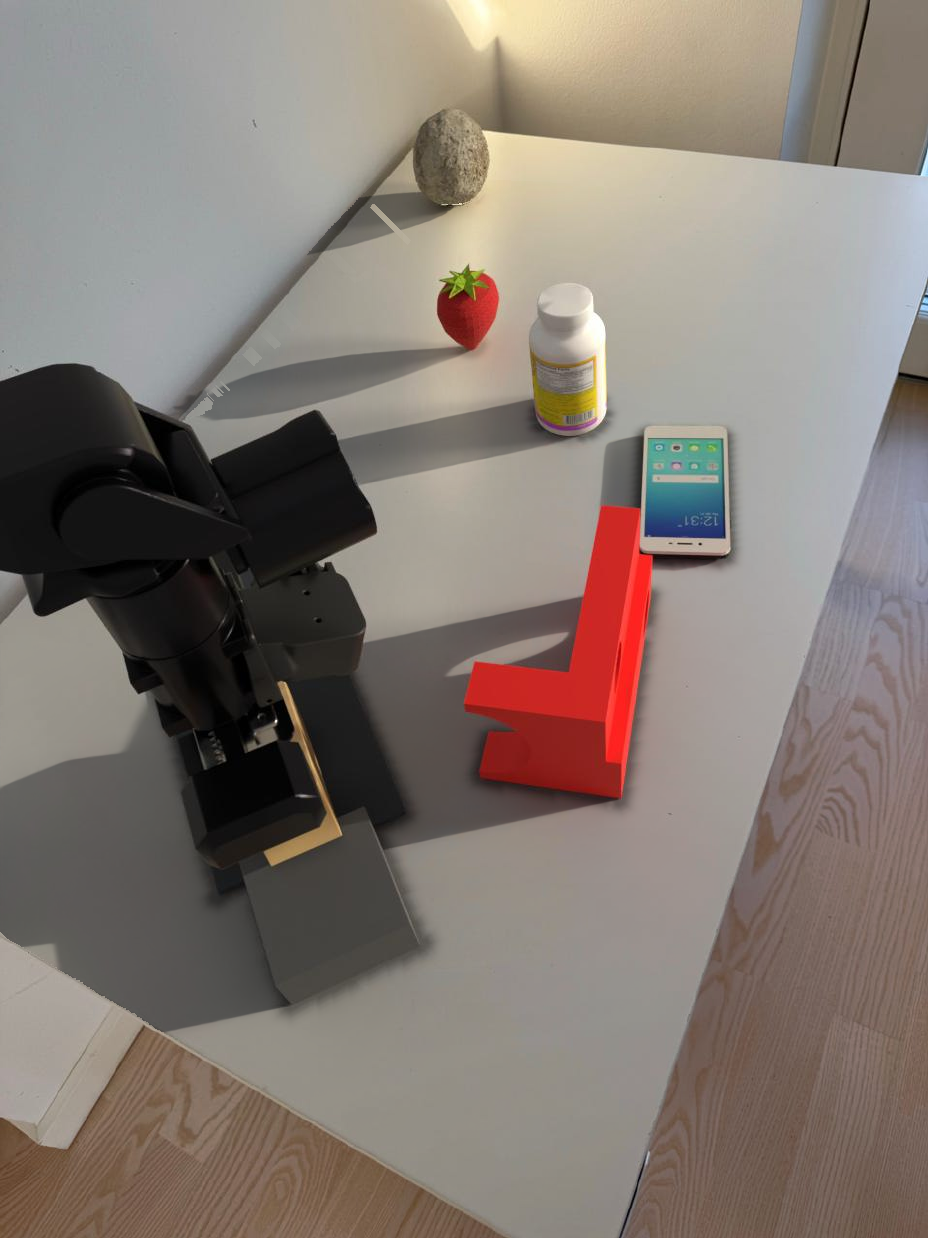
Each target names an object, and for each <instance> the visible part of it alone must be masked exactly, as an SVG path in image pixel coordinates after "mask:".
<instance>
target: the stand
mask: <svg viewBox="0 0 928 1238" xmlns="http://www.w3.org/2000/svg"><path fill="white" fill-rule="evenodd" d="M337 821H338V824H339V827H340V830H341V833H342V836H340V837H338V838H335V839H333V840H331V841H329V842H326V843H324V844H322V845H319V846H317V847H315V848H313V849H310V850H308V851H306V852H303V853H301V854H299V855H296V856H294V857H292V858H290V859H287V860H285V861H283V862H280V863H278V864H276V865H273V866H270V864H269V862H268V860H267V858H266V856H265V854H264V853H263V852H261V853H259V854H257V855H254V856H252V857H250V858H248V859H245V860H243V861H241V862H239V865H240V868H241V872H242V875H243V879H244V882H245V884H244V885H245V889H246V892H247V895H248V900H249V903H250V906H251V909H252V912H253V917H254V920H255V923H256V927H257V930H258V933H259V937H260V940H261V944H262V947H263V951H264V955H265V957H266V961H267V965H268V968H269V972H270V974H271V978H272V981H273V985H274V987H275V988H276V989H277V990H278V991H279V993H281V995H282V996H283V997H284V998H285V999H286V1000H287V1001H288V1002H289V1003H290V1005H295V1004H296V1003H299V1002H301V1001H303V1000H305V999H308V998H310V997H312V996H314V995H316V994H319V993H321V992H323V991H325V990H328V989H329V988H331V987H333V986H336V985H338V984H340V983H342V982H345V981H347V980H350V979H351V978H353V977H356V976H358V975H361V974H363V973H365V972H367V971H369V970H372V969H374V968H375V967H378V966H380V965H382V964H384V963H386V962H388V961H390V960H393V959H396V958H397V957H399V956H401V955H404V954H406V953H408V952H410V951H412V950H415V949H417V948H420V947H421V943H420V940H419V938H418V935H417V933H416V930H415V928H414V925H413V923H412V920H411V917H410V915H409V912H408V910H407V908H406V905H405V902H404V900H403V897H402V895H401V893H400V890H399V887H398V885H397V882H396V879H395V877H394V875H393V872H392V869H391V867H390V864H389V862H388V858H387V857H386V854H385V852H384V848H383V847H382V843H381V842H380V839H379V837H378V834H377V831H376V828H375V827H373V825H372V822H371V820H370V818H369V816H368V814H367V811H366V809H365V807H362V808H359V809H357V810H355V811H352V812H350V813H348V814H345V815H343V816H341V817H338V818H337Z"/></svg>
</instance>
